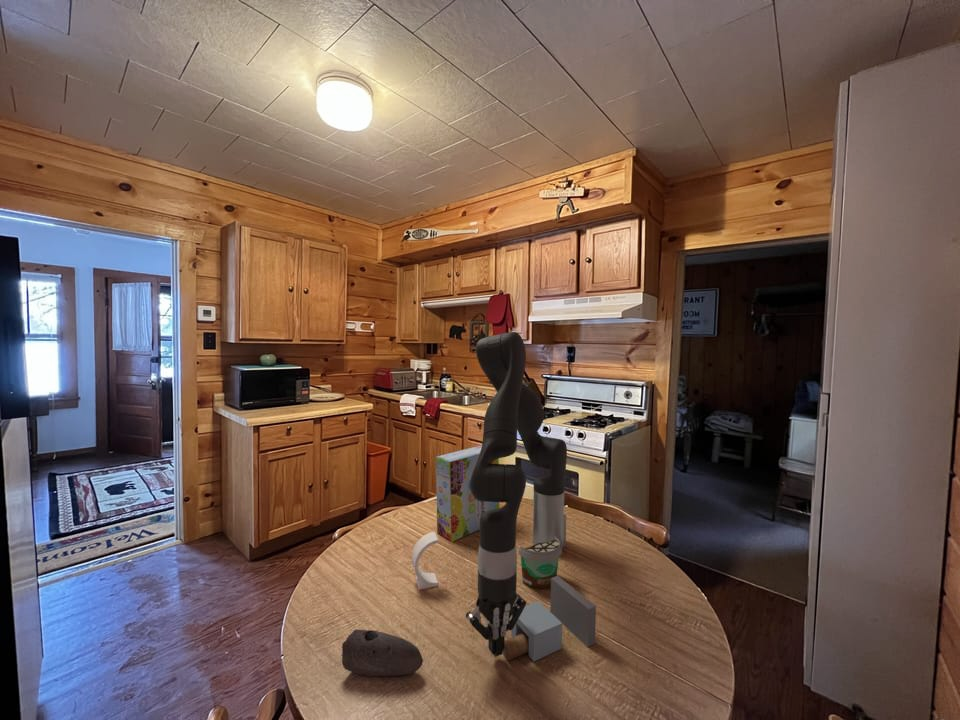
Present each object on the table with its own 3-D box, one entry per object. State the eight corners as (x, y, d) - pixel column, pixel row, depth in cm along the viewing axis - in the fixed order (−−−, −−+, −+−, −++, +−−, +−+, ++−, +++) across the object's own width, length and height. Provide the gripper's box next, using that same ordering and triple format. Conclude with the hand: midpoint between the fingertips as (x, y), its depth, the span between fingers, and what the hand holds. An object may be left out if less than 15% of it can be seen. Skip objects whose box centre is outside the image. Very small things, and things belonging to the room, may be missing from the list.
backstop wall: (557, 609, 92) (557, 575, 92) (595, 643, 82) (595, 606, 81) (550, 611, 91) (550, 578, 91) (587, 647, 81) (588, 609, 80)
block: (538, 624, 87) (538, 600, 87) (561, 648, 80) (562, 623, 80) (511, 635, 83) (511, 611, 83) (533, 661, 77) (534, 635, 76)
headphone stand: (438, 585, 101) (438, 539, 100) (414, 590, 99) (414, 543, 98) (434, 575, 105) (434, 531, 104) (411, 580, 103) (411, 535, 102)
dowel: (532, 634, 83) (536, 624, 82) (541, 649, 81) (544, 639, 79) (500, 648, 79) (503, 637, 78) (508, 664, 77) (511, 653, 76)
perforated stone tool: (426, 665, 76) (426, 630, 76) (418, 688, 71) (418, 651, 70) (352, 656, 78) (352, 622, 78) (339, 678, 73) (339, 642, 72)
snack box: (483, 513, 143) (484, 443, 142) (500, 522, 137) (501, 448, 135) (434, 533, 128) (434, 454, 127) (451, 543, 122) (451, 461, 121)
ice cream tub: (531, 598, 96) (532, 558, 96) (517, 584, 101) (518, 546, 101) (571, 584, 102) (572, 546, 101) (556, 571, 107) (556, 535, 107)
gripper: (515, 549, 83) (513, 629, 84) (458, 565, 77) (457, 652, 77) (536, 567, 76) (535, 653, 77) (476, 586, 70) (475, 681, 71)
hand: (496, 652), depth 77 cm, fingers closed
